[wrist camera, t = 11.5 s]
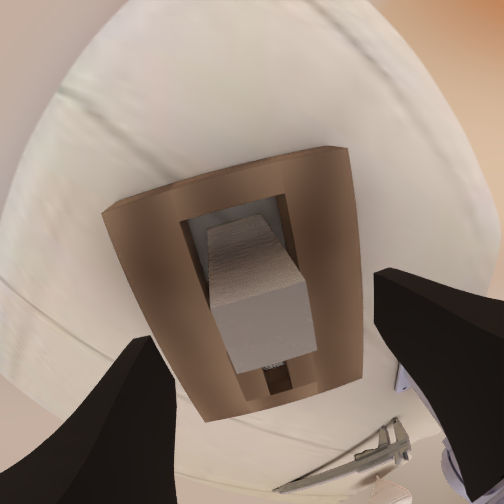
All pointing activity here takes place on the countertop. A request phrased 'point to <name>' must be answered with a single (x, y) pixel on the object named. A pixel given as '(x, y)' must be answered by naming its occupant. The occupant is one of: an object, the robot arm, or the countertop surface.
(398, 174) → the countertop surface
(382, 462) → the caliper
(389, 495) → the spinning top
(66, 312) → the countertop surface
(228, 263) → the peg
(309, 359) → the socket block
